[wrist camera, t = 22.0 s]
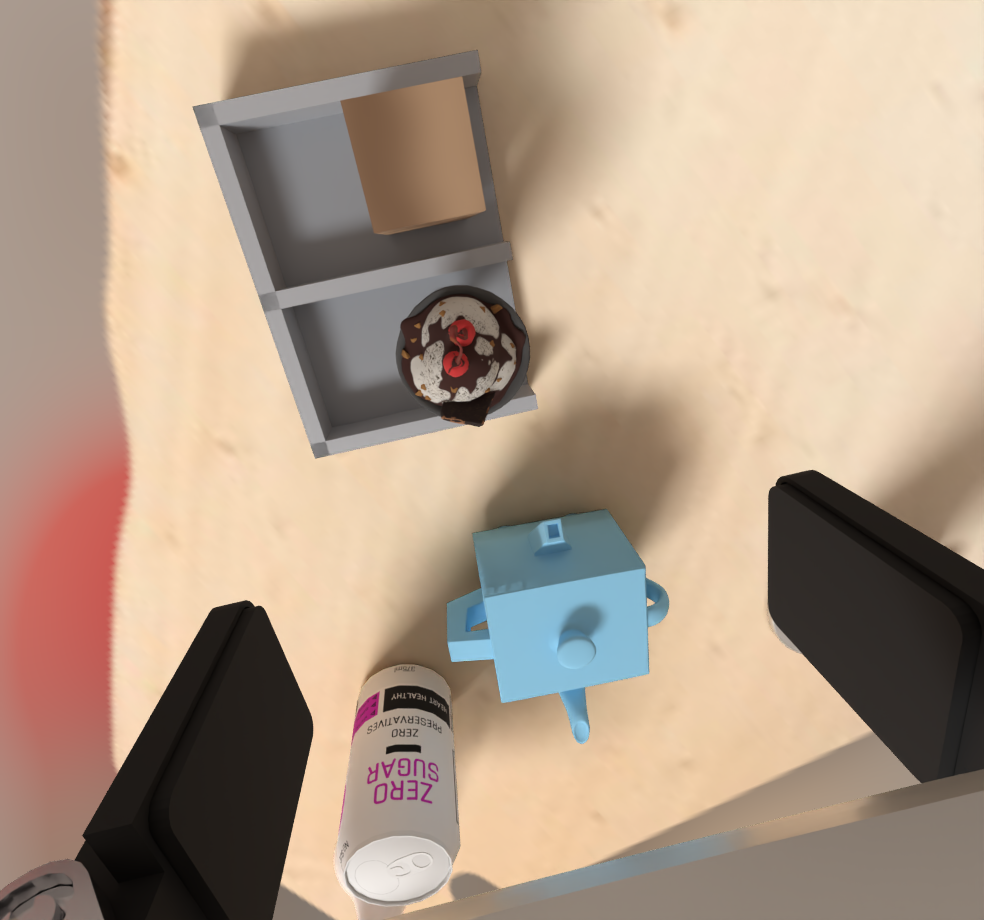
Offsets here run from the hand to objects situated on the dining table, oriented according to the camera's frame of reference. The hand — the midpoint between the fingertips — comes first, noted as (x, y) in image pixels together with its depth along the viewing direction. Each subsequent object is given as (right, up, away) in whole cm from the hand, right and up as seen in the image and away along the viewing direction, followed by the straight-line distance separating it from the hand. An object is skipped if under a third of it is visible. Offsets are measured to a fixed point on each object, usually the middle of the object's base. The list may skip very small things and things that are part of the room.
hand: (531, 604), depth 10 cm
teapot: (+3, -6, +36) cm, 37 cm away
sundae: (-3, +12, +27) cm, 29 cm away
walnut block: (-5, +19, +23) cm, 31 cm away
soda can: (-9, -18, +39) cm, 44 cm away
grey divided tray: (-7, +15, +26) cm, 31 cm away
